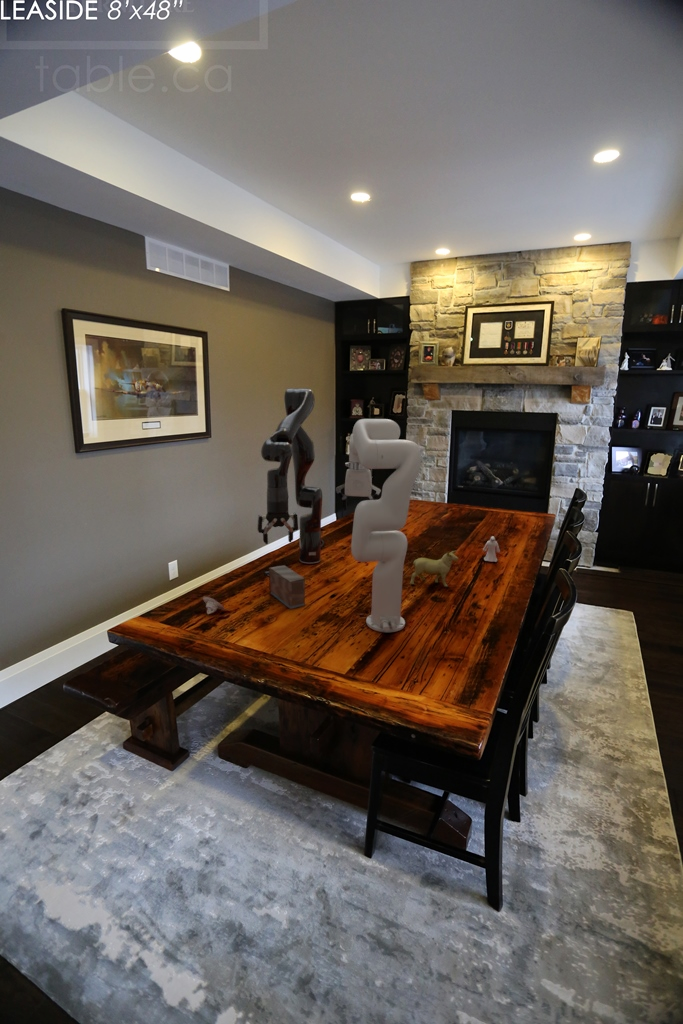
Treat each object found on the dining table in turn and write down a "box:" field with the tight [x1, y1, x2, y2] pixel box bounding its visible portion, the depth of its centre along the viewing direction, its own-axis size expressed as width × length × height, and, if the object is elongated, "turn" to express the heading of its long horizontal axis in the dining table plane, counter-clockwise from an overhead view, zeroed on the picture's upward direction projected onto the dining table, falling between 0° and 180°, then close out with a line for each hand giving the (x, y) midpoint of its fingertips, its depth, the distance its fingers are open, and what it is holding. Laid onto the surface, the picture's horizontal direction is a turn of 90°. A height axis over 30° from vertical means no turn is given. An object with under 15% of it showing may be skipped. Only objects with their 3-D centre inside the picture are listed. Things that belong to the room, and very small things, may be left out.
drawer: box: [263, 565, 279, 591], centre depth 183 cm, size 20×4×8 cm, turn 34°
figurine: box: [482, 535, 501, 563], centre depth 223 cm, size 8×8×12 cm
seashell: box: [202, 596, 226, 615], centre depth 167 cm, size 8×5×8 cm
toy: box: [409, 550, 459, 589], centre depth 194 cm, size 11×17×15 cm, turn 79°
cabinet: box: [269, 564, 306, 610], centre depth 179 cm, size 16×6×10 cm, turn 34°
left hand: (278, 542), depth 180 cm, fingers open, 8 cm apart
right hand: (357, 509), depth 194 cm, fingers open, 9 cm apart
